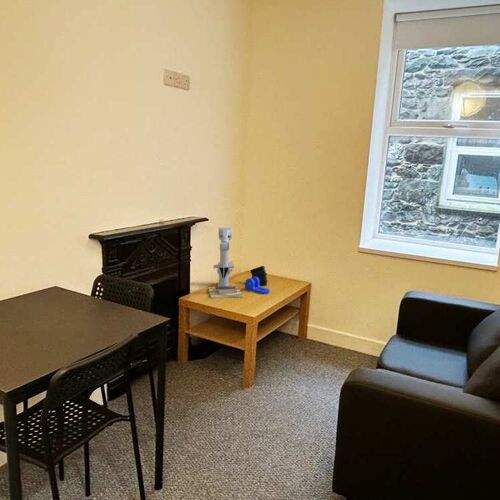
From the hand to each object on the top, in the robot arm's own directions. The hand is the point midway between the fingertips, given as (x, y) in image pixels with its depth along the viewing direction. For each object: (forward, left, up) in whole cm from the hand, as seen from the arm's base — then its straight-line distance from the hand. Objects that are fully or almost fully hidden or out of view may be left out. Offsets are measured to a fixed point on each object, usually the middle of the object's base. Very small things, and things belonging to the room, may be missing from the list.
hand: (223, 277), depth 315 cm
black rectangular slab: (-17, +29, -11) cm, 35 cm away
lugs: (+3, +1, -9) cm, 10 cm away
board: (+3, +1, -10) cm, 11 cm away
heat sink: (+3, +1, -9) cm, 10 cm away
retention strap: (+3, +1, -7) cm, 8 cm away
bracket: (-1, +26, -11) cm, 28 cm away
